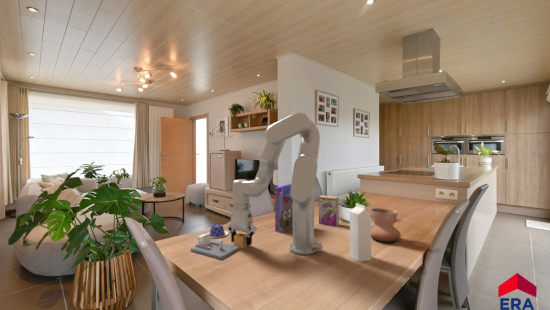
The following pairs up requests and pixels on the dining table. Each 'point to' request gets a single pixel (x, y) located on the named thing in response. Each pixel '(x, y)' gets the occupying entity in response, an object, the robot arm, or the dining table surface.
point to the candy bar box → (329, 210)
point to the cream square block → (204, 239)
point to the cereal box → (283, 209)
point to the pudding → (217, 231)
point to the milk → (360, 233)
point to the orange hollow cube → (240, 240)
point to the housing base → (216, 249)
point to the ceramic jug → (384, 225)
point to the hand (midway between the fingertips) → (241, 243)
